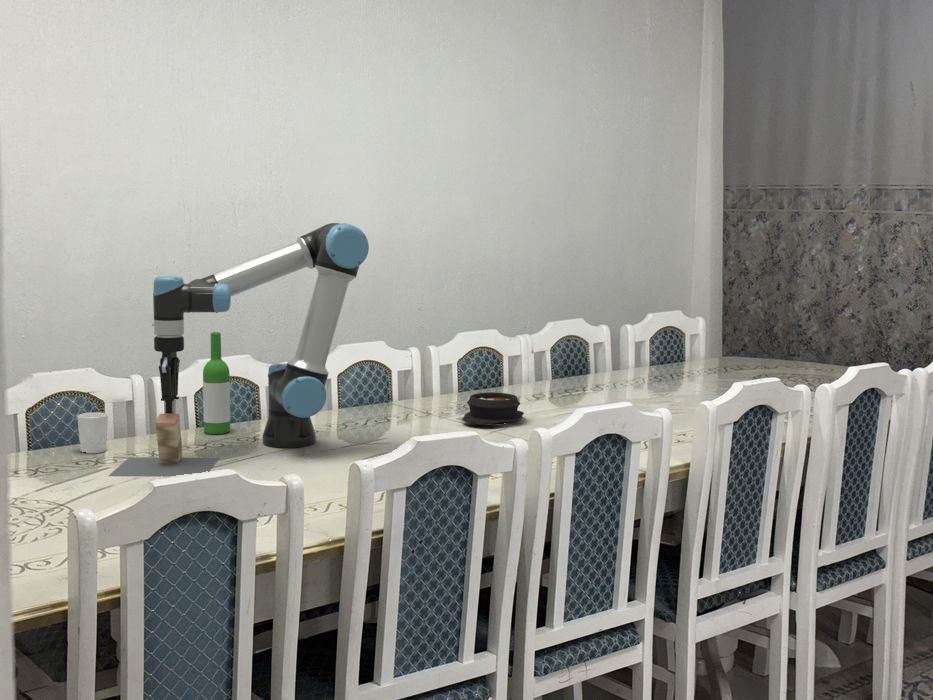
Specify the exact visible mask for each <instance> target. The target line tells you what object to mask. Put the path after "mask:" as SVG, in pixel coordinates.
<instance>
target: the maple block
mask: <svg viewBox="0 0 933 700" xmlns="http://www.w3.org/2000/svg"><path fill="white" fill-rule="evenodd" d="M180 419H181V418H180V413H176V414H164V413H159V415H158V416H157V419H156V421H155V431H156V433H155V434H156V441H157V452H158V457H159V463H179V462H180V459H181V458H183V457H182V456H183V453H184V452H183V441H182V430H181V420H180Z"/></svg>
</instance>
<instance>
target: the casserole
mask: <svg viewBox="0 0 933 700" xmlns="http://www.w3.org/2000/svg"><path fill="white" fill-rule="evenodd" d="M466 403H467V405H468V409H469V411H468V412H466V413H465V414H464V416H463V417H462V418H461V420H462V421H463V422H466V423H471V424H478V425H485V424H504V423H509V424H511V423H513V422H516V421H520V420H521V419H522V418H523V415H524V414H525V412H524V411H521V410H518V408H519V406H520V405H521V402H520V401H519V400H518V396H517V395H515V394H512V393H507V392H491V391H490V392H478V393H473V394H470V397H469V399H468V400H467V402H466ZM510 422H511V423H510ZM504 425H505V424H504Z"/></svg>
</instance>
